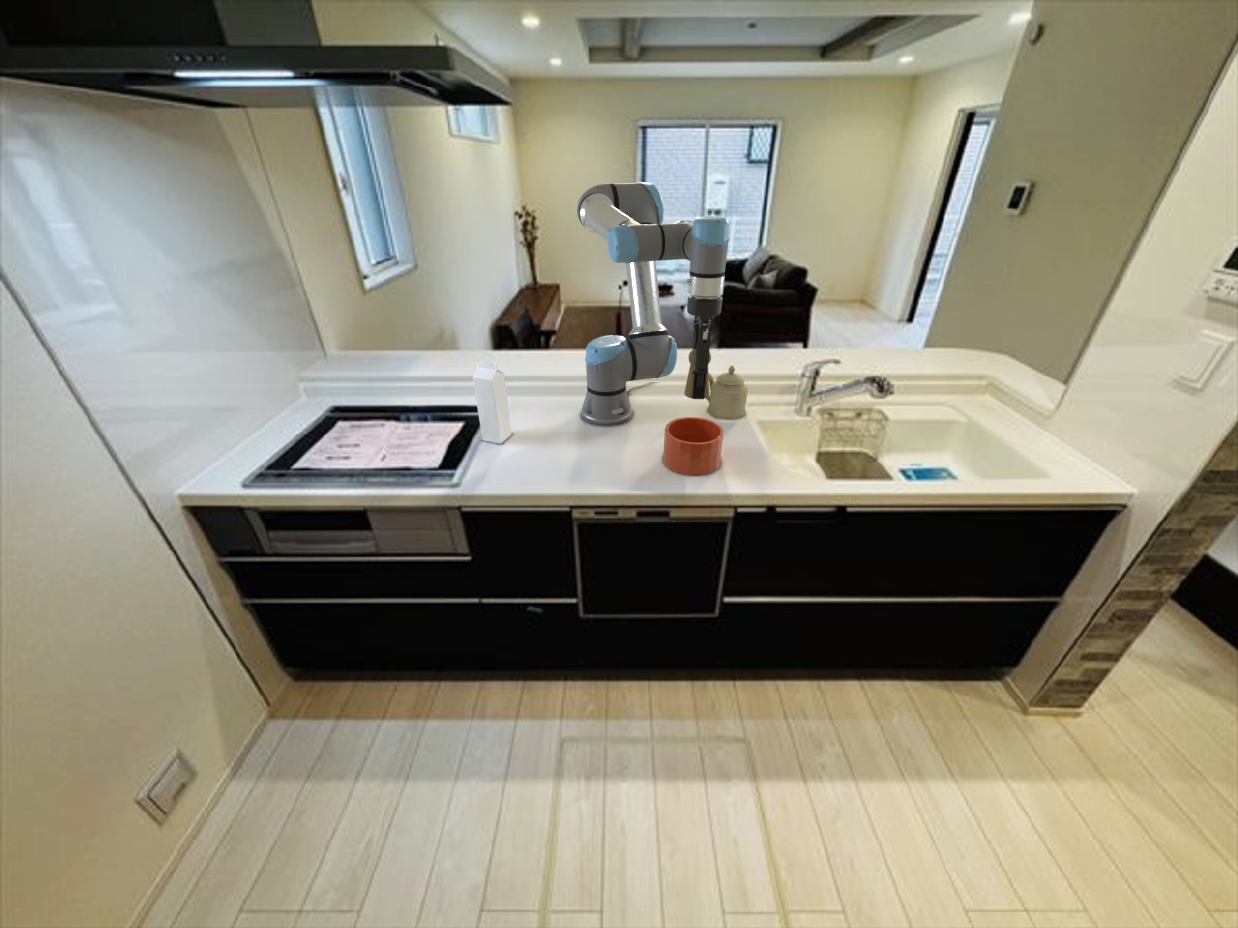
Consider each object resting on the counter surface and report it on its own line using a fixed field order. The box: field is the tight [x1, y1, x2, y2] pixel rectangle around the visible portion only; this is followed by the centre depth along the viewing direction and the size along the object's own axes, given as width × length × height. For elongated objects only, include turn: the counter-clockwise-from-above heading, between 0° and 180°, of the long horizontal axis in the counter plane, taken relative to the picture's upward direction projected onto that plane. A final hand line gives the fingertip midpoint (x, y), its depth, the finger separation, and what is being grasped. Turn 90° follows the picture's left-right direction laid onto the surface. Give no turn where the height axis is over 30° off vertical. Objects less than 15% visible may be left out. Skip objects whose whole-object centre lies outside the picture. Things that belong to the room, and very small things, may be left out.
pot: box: [662, 416, 724, 476], centre depth 133 cm, size 15×15×9 cm
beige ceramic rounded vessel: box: [705, 365, 749, 420], centre depth 156 cm, size 15×11×15 cm
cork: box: [683, 349, 712, 399], centre depth 122 cm, size 6×6×11 cm
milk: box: [472, 361, 512, 445], centre depth 140 cm, size 6×6×22 cm
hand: (696, 392), depth 125 cm, fingers closed on cork, 6 cm apart
